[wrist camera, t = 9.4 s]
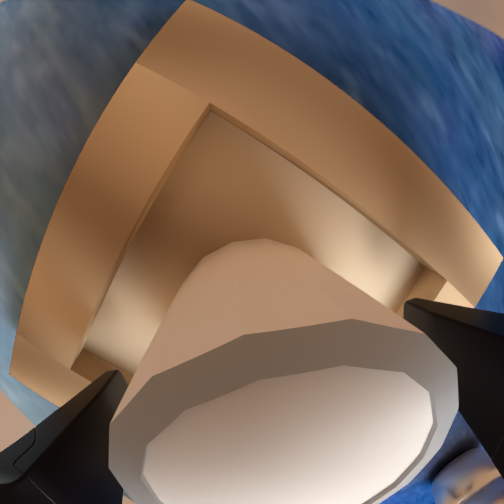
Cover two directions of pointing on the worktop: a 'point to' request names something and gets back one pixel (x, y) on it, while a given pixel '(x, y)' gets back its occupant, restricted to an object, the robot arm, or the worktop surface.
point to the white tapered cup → (279, 390)
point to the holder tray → (229, 200)
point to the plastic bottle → (469, 481)
